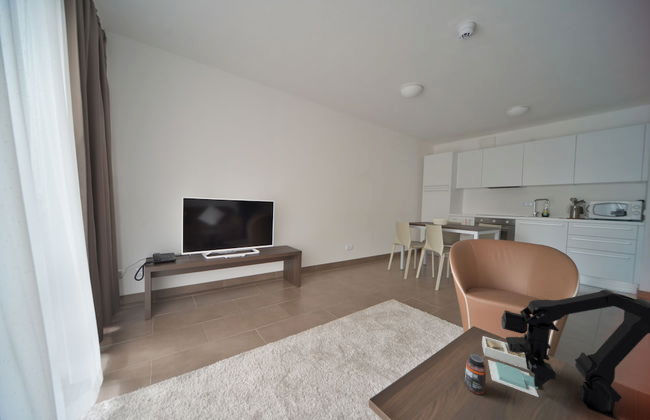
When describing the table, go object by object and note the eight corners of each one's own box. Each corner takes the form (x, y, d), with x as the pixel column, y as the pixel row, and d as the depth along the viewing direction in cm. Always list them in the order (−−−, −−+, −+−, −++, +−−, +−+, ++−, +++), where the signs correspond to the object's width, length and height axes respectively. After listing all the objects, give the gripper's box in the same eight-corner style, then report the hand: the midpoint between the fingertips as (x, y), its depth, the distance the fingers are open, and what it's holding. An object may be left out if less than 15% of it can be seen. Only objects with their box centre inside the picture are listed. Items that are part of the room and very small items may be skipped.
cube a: (519, 356, 97) (520, 349, 97) (523, 360, 94) (523, 354, 94) (511, 354, 98) (511, 347, 98) (514, 358, 95) (515, 352, 95)
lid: (532, 376, 86) (533, 372, 85) (540, 394, 78) (541, 390, 78) (495, 364, 91) (495, 360, 91) (499, 379, 83) (499, 375, 83)
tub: (523, 357, 97) (525, 348, 96) (530, 371, 89) (531, 361, 89) (481, 344, 104) (482, 336, 104) (484, 355, 96) (485, 347, 96)
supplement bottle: (478, 382, 83) (481, 352, 82) (488, 396, 77) (491, 365, 76) (461, 380, 83) (463, 351, 82) (469, 394, 77) (472, 363, 76)
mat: (528, 374, 87) (528, 373, 87) (538, 397, 77) (538, 396, 77) (487, 360, 94) (487, 359, 94) (491, 380, 83) (492, 379, 83)
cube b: (517, 361, 94) (517, 354, 94) (516, 364, 92) (517, 357, 91) (507, 357, 96) (508, 350, 96) (507, 360, 94) (507, 353, 94)
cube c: (496, 350, 100) (497, 341, 100) (501, 356, 96) (502, 347, 96) (486, 348, 101) (487, 340, 100) (491, 355, 97) (492, 346, 96)
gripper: (504, 318, 93) (500, 353, 94) (515, 343, 77) (510, 385, 78) (540, 327, 88) (535, 364, 89) (560, 356, 71) (554, 401, 73)
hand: (532, 377), depth 82 cm, fingers open, 9 cm apart
